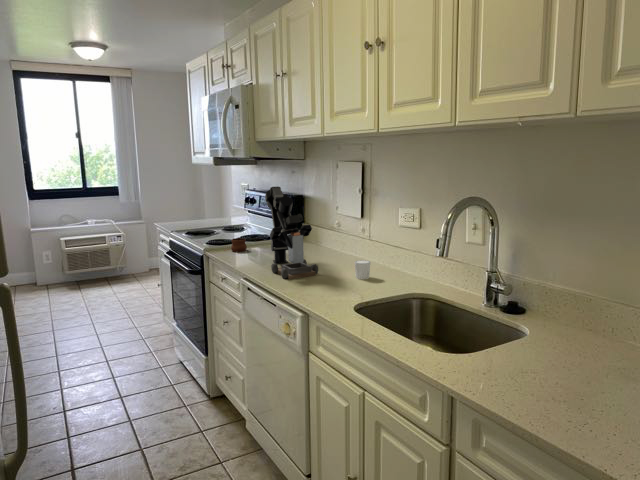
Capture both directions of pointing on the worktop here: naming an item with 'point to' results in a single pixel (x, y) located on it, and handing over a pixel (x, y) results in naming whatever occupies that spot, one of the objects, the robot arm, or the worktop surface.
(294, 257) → the engine block
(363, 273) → the shot glass
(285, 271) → the chassis
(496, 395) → the worktop surface
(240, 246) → the ceramic pot
